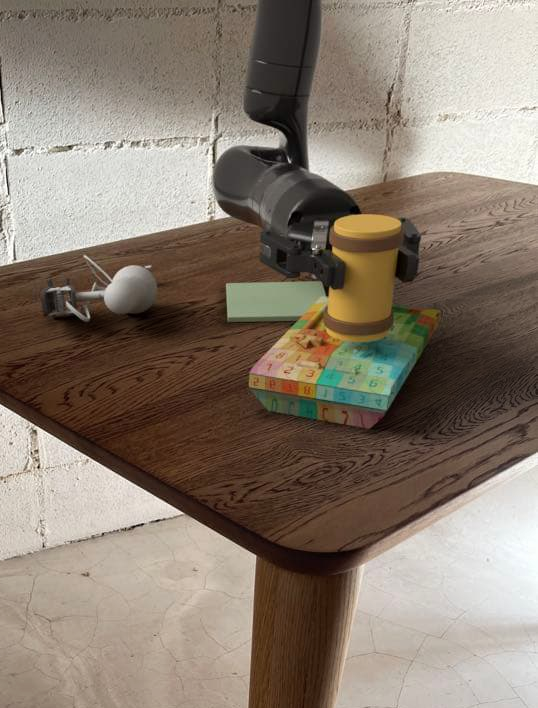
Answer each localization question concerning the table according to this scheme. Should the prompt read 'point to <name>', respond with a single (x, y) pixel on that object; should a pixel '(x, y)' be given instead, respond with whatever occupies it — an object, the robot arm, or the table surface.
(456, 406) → the table surface
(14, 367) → the table surface
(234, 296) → the green mat
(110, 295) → the clip-on lamp
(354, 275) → the stacking piece
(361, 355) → the puzzle game
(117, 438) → the table surface
